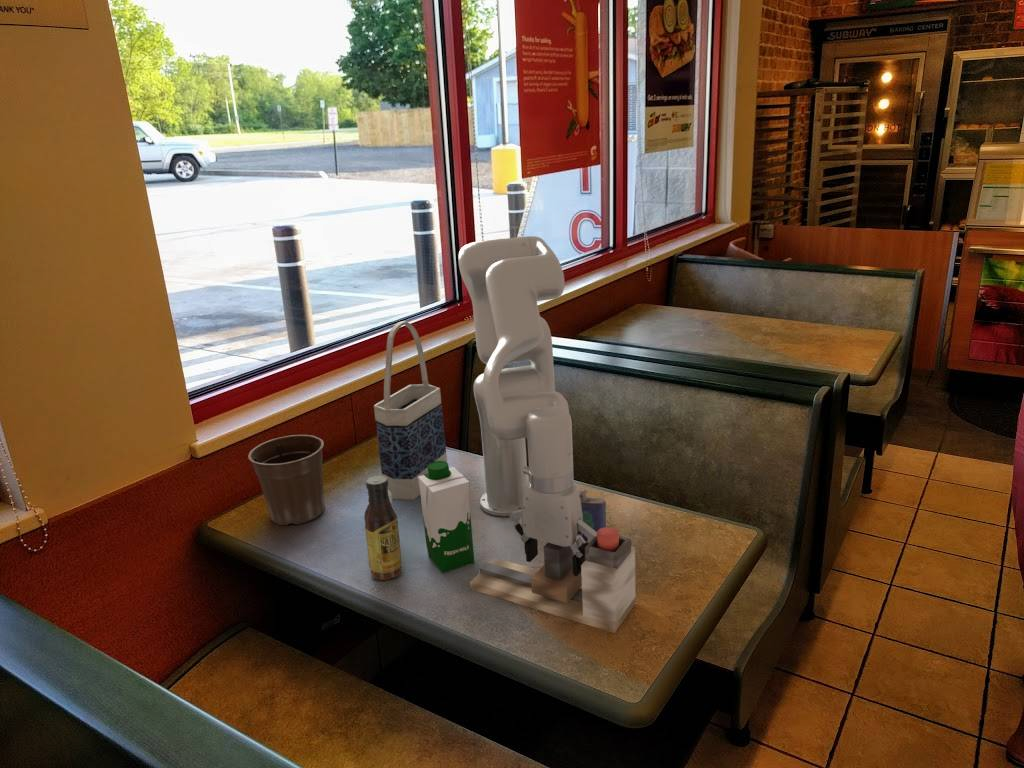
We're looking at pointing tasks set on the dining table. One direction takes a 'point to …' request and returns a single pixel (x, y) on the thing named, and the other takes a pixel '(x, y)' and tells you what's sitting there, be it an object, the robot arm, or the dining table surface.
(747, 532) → the dining table surface
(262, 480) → the plant pot
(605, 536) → the red dome button
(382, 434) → the bag
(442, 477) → the milk carton
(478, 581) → the rail
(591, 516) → the flask
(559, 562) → the carriage
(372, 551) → the sauce bottle
